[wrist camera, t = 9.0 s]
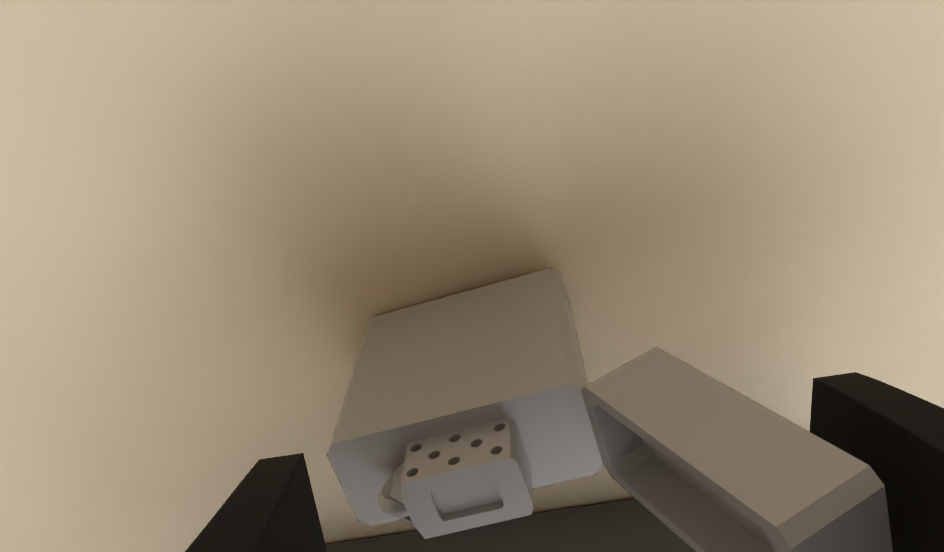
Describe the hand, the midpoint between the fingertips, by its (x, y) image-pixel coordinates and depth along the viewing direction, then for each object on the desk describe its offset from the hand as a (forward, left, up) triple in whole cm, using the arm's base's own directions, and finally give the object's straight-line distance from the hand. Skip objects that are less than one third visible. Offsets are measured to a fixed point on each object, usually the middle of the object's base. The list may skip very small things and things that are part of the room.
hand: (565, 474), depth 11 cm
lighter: (+1, 0, -6) cm, 6 cm away
